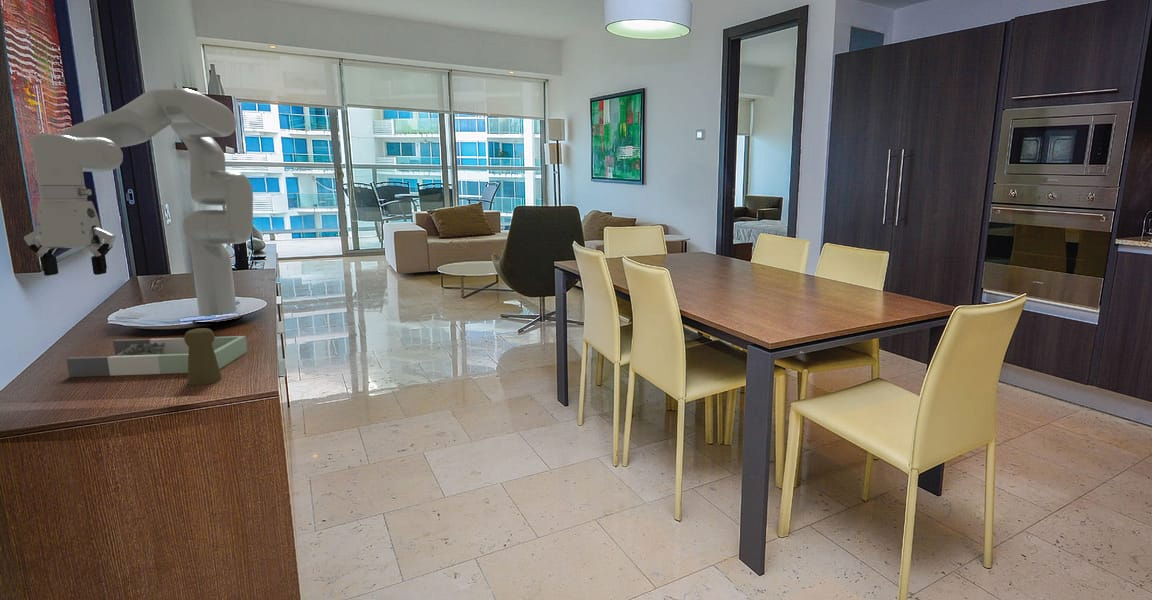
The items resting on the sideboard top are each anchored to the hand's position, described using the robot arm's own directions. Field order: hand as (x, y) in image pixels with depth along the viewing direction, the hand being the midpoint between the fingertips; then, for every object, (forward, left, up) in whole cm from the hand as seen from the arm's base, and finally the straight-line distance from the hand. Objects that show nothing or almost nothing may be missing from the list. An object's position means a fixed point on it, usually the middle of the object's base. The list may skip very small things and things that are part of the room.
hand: (76, 274), depth 127 cm
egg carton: (-1, +13, -22) cm, 25 cm away
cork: (+13, +31, -21) cm, 39 cm away
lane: (-1, +15, -21) cm, 25 cm away
